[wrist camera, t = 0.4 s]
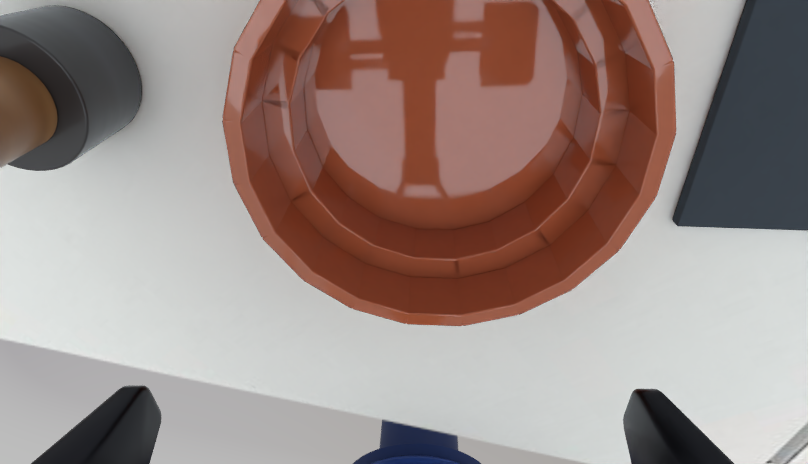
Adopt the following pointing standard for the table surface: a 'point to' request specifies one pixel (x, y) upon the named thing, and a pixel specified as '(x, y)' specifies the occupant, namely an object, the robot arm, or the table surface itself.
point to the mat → (756, 128)
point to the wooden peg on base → (61, 86)
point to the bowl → (448, 146)
